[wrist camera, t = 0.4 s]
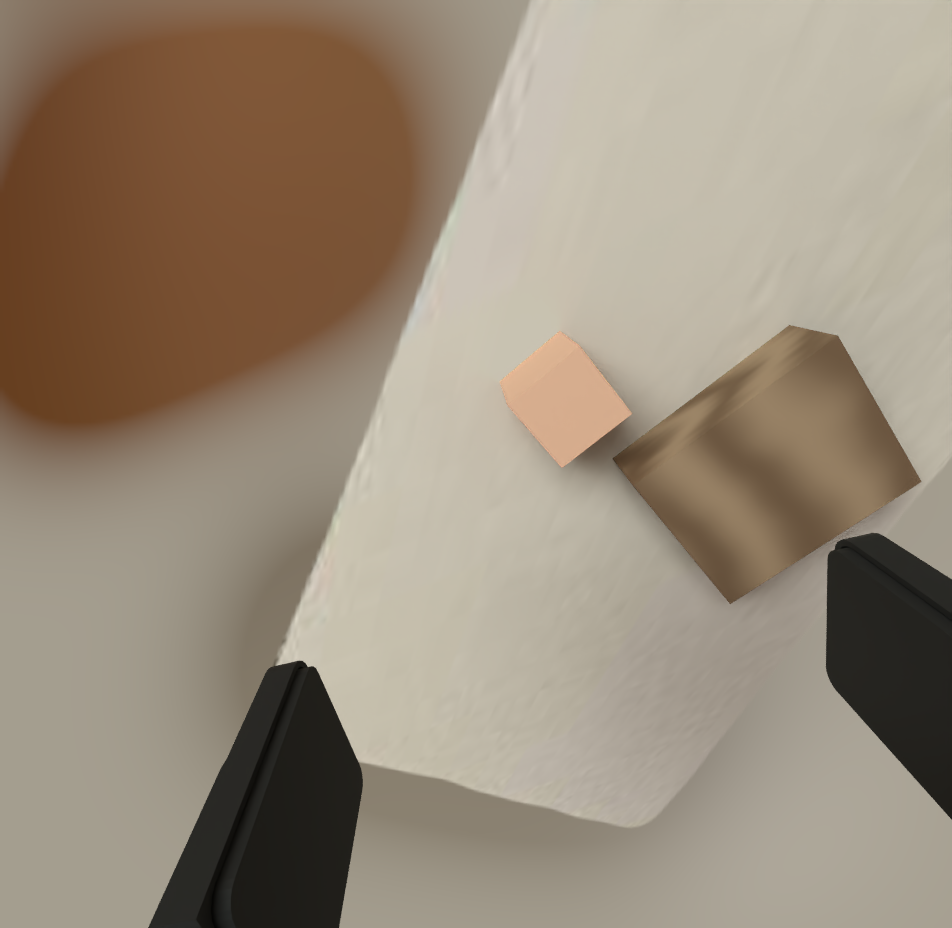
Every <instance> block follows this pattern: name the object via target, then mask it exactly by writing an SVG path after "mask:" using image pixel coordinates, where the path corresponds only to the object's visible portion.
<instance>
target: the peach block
mask: <svg viewBox="0 0 952 928" xmlns="http://www.w3.org/2000/svg"><path fill="white" fill-rule="evenodd" d="M500 384H501V387H502V390H503V393H504V396H505V399H506V402H507V405H508V407H509V408H510V409H511V410H512V411H513V412H514V413H515V415H516V416H517V417H518V418H519V419H520V420H521V422H522V423H523V424H524V425H525V426H526V427H527V428H528V430H529V431H530V432H531V433H532V434H533V435H534V437H535V438H536V439H537V440H538V441H539V442H540V443H541V445H542V446H543V447H544V448H545V449H546V450H547V451H548V453H549V454H550V455H551V456H552V457H553V458H554V460H555V461H556V462H557V463H558V464H559V465H560V466H561V468H563V467H564V466H565V465H566V464H568V463H569V462H570V461H572V460H573V459H574V458H576V457H577V456H578V455H579V454H581V453H582V452H583V451H585V450H586V449H587V448H589V447H590V446H591V445H592V444H594V443H595V442H596V441H598V440H599V439H600V438H601V437H603V436H604V435H605V434H607V433H608V432H609V431H611V430H612V429H613V428H614V427H616V426H617V425H618V424H620V423H621V422H622V421H624V420H625V419H626V418H627V417H629V416H630V415H631V414H632V413H631V411H630V410H629V409H628V408H627V406H626V405H625V404H624V402H623V401H622V400H621V399H620V397H619V396H618V395H617V393H616V392H615V391H614V389H613V388H612V387H611V386H610V384H609V383H608V382H607V380H606V379H605V378H604V377H603V375H602V374H601V373H600V371H599V370H598V369H597V368H596V366H595V365H594V364H593V362H592V361H591V360H590V358H589V357H588V356H587V355H586V353H585V352H584V351H583V349H582V348H581V347H580V346H579V345H578V344H577V343H575V342H574V341H573V340H571V339H570V338H569V337H567V336H566V335H565V334H563V333H562V332H561V331H559V332H558V333H557V334H555V335H554V336H553V337H552V338H551V339H549V340H548V341H547V342H546V343H545V344H544V345H542V346H541V347H540V348H539V349H538V350H536V351H535V352H534V353H533V354H532V355H531V356H529V357H528V358H527V359H526V360H525V361H523V362H522V363H521V364H520V365H519V366H517V367H516V368H515V369H514V370H513V371H512V372H510V373H509V374H508V375H507V376H506V377H504V378H503V379H502V380H501V381H500Z"/></svg>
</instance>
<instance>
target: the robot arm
mask: <svg viewBox="0 0 952 928" xmlns="http://www.w3.org/2000/svg"><path fill="white" fill-rule="evenodd" d="M826 640H827V641H826V669H827V674H828V677H829V679H830V682H831V683H832V685H833V687H834V688H835V689H836V691H837V692H838V693H839V694H840V695H841V696H842V697H843V698H844V699H845V701H846V702H847V703H848V704H849V705H850V706H851V707H852V708H853V710H854V711H855V712H856V713H857V714H858V715H859V716H860V717H861V719H862V720H863V721H864V722H865V723H866V724H867V725H868V726H869V728H870V729H871V730H872V731H873V732H874V733H875V734H876V735H877V736H878V738H879V739H880V740H881V741H882V742H883V743H884V744H885V745H886V747H887V748H888V749H889V750H890V751H891V752H892V753H893V754H894V755H895V756H896V758H897V759H898V760H899V761H900V762H901V763H902V764H903V766H904V767H905V768H906V769H907V770H908V771H909V772H910V773H911V774H912V775H913V777H914V778H915V779H916V780H917V781H918V782H919V783H920V785H921V786H922V787H923V788H924V789H925V790H926V791H927V792H928V794H929V795H930V796H931V797H932V798H933V799H934V800H935V801H936V802H937V804H938V805H939V806H940V807H941V808H942V809H943V810H944V811H945V812H946V814H947V815H948V816H949V817H950V818H951V819H952V579H950V578H948V577H947V576H945V575H944V574H942V573H941V572H939V571H938V570H936V569H934V568H933V567H931V566H930V565H928V564H927V563H925V562H924V561H922V560H920V559H919V558H917V557H916V556H914V555H913V554H911V553H909V552H908V551H906V550H905V549H903V548H901V547H900V546H898V545H897V544H895V543H894V542H892V541H890V540H889V539H887V538H886V537H884V536H882V535H880V534H878V533H870V534H866V535H861V536H857V537H852V538H848V539H844V540H841V541H839V542H837V544H836V546H835V550H834V551H831V552H830V553H829V555H828V569H827V639H826ZM362 787H363V779H362V772H361V768H360V765H359V763H358V760H357V758H356V756H355V754H354V751H353V749H352V747H351V745H350V742H349V740H348V738H347V736H346V734H345V731H344V729H343V727H342V725H341V722H340V720H339V718H338V716H337V713H336V711H335V709H334V707H333V704H332V702H331V700H330V698H329V695H328V693H327V691H326V689H325V687H324V684H323V682H322V680H321V678H320V675H319V673H318V671H317V669H316V668H315V667H312V666H311V667H307V665H306V663H304V662H303V661H296V662H291V663H287V664H282V665H278V666H273V667H271V668H269V669H268V670H267V672H266V673H265V676H264V678H263V680H262V682H261V685H260V687H259V689H258V691H257V693H256V696H255V698H254V700H253V702H252V704H251V707H250V709H249V711H248V713H247V715H246V718H245V720H244V722H243V724H242V727H241V729H240V731H239V733H238V736H237V738H236V740H235V742H234V744H233V747H232V749H231V751H230V753H229V755H228V758H227V760H226V761H225V763H224V764H223V766H222V768H221V769H220V772H219V774H218V776H217V778H216V780H215V783H214V785H213V787H212V789H211V791H210V793H209V796H208V798H207V800H206V803H205V804H204V807H203V809H202V811H201V813H200V816H199V818H198V820H197V822H196V824H195V826H194V829H193V831H192V833H191V835H190V837H189V840H188V842H187V844H186V846H185V848H184V851H183V853H182V855H181V857H180V859H179V862H178V864H177V866H176V868H175V870H174V872H173V875H172V877H171V879H170V881H169V883H168V886H167V888H166V890H165V893H164V894H163V897H162V899H161V901H160V903H159V905H158V908H157V910H156V912H155V914H154V917H153V919H152V921H151V923H150V925H149V927H148V928H339V924H340V918H341V911H342V905H343V900H344V894H345V888H346V883H347V877H348V871H349V865H350V859H351V853H352V847H353V841H354V836H355V829H356V823H357V818H358V812H359V806H360V800H361V794H362Z"/></svg>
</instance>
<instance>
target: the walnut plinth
mask: <svg viewBox="0 0 952 928" xmlns="http://www.w3.org/2000/svg"><path fill="white" fill-rule="evenodd" d="M613 459H614V461H615V462H616V463H617V465H618V466H619V467H620V469H621V470H622V471H623V473H624V474H625V475H626V477H627V478H628V479H629V481H630V482H631V483H632V485H633V486H634V487H635V488H636V490H637V491H638V492H639V493H640V495H641V496H642V497H643V498H644V499H645V501H646V502H647V503H648V504H649V506H650V507H651V508H652V509H653V510H654V512H655V513H656V514H657V515H658V517H659V518H660V519H661V520H662V521H663V523H664V524H665V525H666V526H667V528H668V529H669V530H670V531H671V532H672V534H673V535H674V536H675V537H676V539H677V540H678V541H679V542H680V543H681V545H682V546H683V547H684V548H685V550H686V551H687V552H688V553H689V554H690V556H691V557H692V558H693V559H694V560H695V562H696V563H697V564H698V565H699V567H700V568H701V569H702V570H703V571H704V573H705V574H706V575H707V576H708V578H709V579H710V580H711V581H712V582H713V584H714V585H715V586H716V587H717V589H718V590H719V591H720V592H721V593H722V595H723V596H724V597H725V598H726V600H727V601H728V602H729V603H730V604H731V603H733V602H734V601H736V600H737V599H739V598H740V597H742V596H744V595H745V594H747V593H748V592H750V591H751V590H753V589H754V588H756V587H758V586H759V585H761V584H762V583H764V582H765V581H767V580H769V579H770V578H772V577H773V576H775V575H776V574H778V573H779V572H781V571H783V570H784V569H786V568H787V567H789V566H790V565H792V564H794V563H795V562H797V561H798V560H800V559H801V558H803V557H805V556H806V555H808V554H809V553H811V552H812V551H814V550H815V549H817V548H819V547H820V546H822V545H823V544H825V543H826V542H828V541H830V540H831V539H833V538H834V537H836V536H837V535H839V534H840V533H842V532H844V531H845V530H847V529H848V528H850V527H851V526H853V525H855V524H856V523H858V522H859V521H861V520H862V519H864V518H866V517H867V516H869V515H870V514H872V513H873V512H875V511H876V510H878V509H880V508H881V507H883V506H884V505H886V504H887V503H889V502H891V501H892V500H894V499H895V498H897V497H898V496H900V495H901V494H903V493H905V492H906V491H908V490H909V489H911V488H912V487H914V486H916V485H917V484H919V483H920V482H921V480H920V478H919V477H918V475H917V473H916V471H915V470H914V468H913V466H912V464H911V463H910V461H909V459H908V457H907V456H906V454H905V452H904V450H903V449H902V447H901V445H900V443H899V442H898V440H897V438H896V436H895V435H894V433H893V431H892V429H891V428H890V426H889V424H888V422H887V421H886V419H885V417H884V415H883V414H882V412H881V410H880V408H879V407H878V405H877V403H876V401H875V400H874V398H873V396H872V394H871V393H870V391H869V389H868V388H867V386H866V384H865V382H864V381H863V379H862V377H861V375H860V374H859V372H858V370H857V368H856V367H855V365H854V363H853V361H852V360H851V358H850V356H849V354H848V353H847V351H846V349H845V347H844V346H843V344H842V342H841V340H840V339H839V337H838V336H836V335H832V334H827V333H822V332H818V331H813V330H809V329H804V328H800V327H795V326H790V325H789V326H788V327H787V328H785V329H784V330H783V331H781V332H780V333H779V334H777V335H776V336H775V337H773V338H772V339H771V340H769V341H768V342H767V343H765V344H764V345H763V346H761V347H760V348H759V349H757V350H756V351H755V352H753V353H752V354H751V355H749V356H748V357H747V358H745V359H744V360H743V361H741V362H740V363H739V364H737V365H736V366H735V367H733V368H732V369H731V370H730V371H728V372H727V373H726V374H724V375H723V376H722V377H720V378H719V379H718V380H716V381H715V382H714V383H712V384H711V385H710V386H708V387H707V388H706V389H704V390H703V391H702V392H700V393H699V394H698V395H696V396H695V397H694V398H692V399H691V400H690V401H688V402H687V403H686V404H684V405H683V406H682V407H680V408H679V409H678V410H676V411H675V412H674V413H672V414H671V415H670V416H669V417H667V418H666V419H665V420H663V421H662V422H661V423H659V424H658V425H657V426H655V427H654V428H653V429H651V430H650V431H649V432H647V433H646V434H645V435H643V436H642V437H641V438H639V439H638V440H637V441H635V442H634V443H633V444H631V445H630V446H629V447H627V448H626V449H625V450H623V451H622V452H621V453H619V454H618V455H617V456H615V457H614V458H613Z"/></svg>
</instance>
